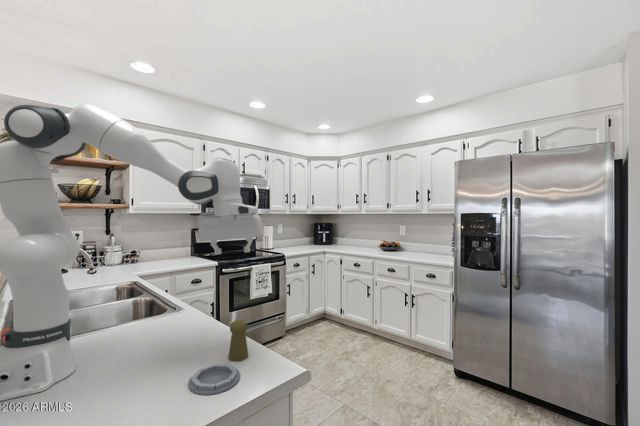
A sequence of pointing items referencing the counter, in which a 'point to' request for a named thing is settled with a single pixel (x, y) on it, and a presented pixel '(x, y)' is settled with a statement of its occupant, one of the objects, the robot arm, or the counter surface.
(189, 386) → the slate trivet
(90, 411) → the counter surface
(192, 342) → the counter surface
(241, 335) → the olive brown pepper mill
